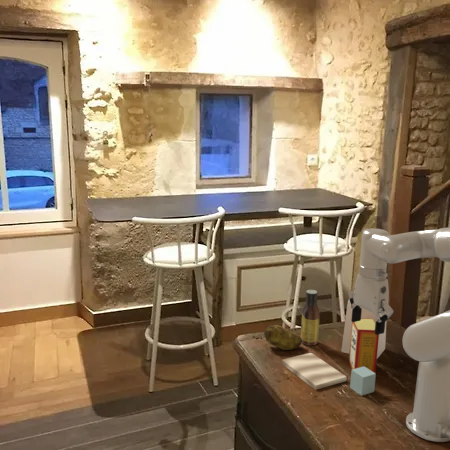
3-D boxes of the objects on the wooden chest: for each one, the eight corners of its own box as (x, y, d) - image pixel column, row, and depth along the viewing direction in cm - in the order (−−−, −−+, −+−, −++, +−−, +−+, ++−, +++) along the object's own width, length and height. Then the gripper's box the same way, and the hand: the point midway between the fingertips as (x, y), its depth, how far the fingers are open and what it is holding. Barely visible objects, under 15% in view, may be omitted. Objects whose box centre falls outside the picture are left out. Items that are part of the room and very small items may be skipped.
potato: (298, 355, 177) (299, 334, 175) (261, 349, 181) (262, 328, 179) (302, 345, 184) (303, 324, 183) (267, 340, 188) (268, 319, 187)
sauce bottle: (305, 337, 191) (308, 286, 187) (320, 342, 188) (324, 290, 183) (297, 343, 186) (300, 291, 182) (312, 348, 182) (316, 295, 178)
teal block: (374, 391, 155) (375, 373, 154) (361, 395, 153) (363, 377, 151) (362, 384, 159) (364, 366, 158) (350, 387, 157) (351, 369, 156)
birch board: (346, 381, 161) (346, 376, 160) (315, 389, 155) (315, 385, 155) (310, 356, 176) (311, 352, 176) (281, 363, 171) (281, 359, 170)
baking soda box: (348, 361, 174) (352, 316, 170) (368, 362, 173) (372, 317, 170) (354, 375, 164) (358, 328, 161) (375, 376, 164) (379, 329, 161)
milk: (341, 351, 181) (346, 281, 175) (352, 340, 190) (358, 272, 184) (375, 361, 174) (381, 288, 168) (385, 348, 184) (392, 279, 178)
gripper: (405, 279, 142) (398, 336, 146) (361, 262, 157) (356, 314, 161) (384, 282, 139) (379, 341, 143) (342, 265, 154) (338, 318, 157)
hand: (367, 327), depth 152 cm, fingers open, 9 cm apart
